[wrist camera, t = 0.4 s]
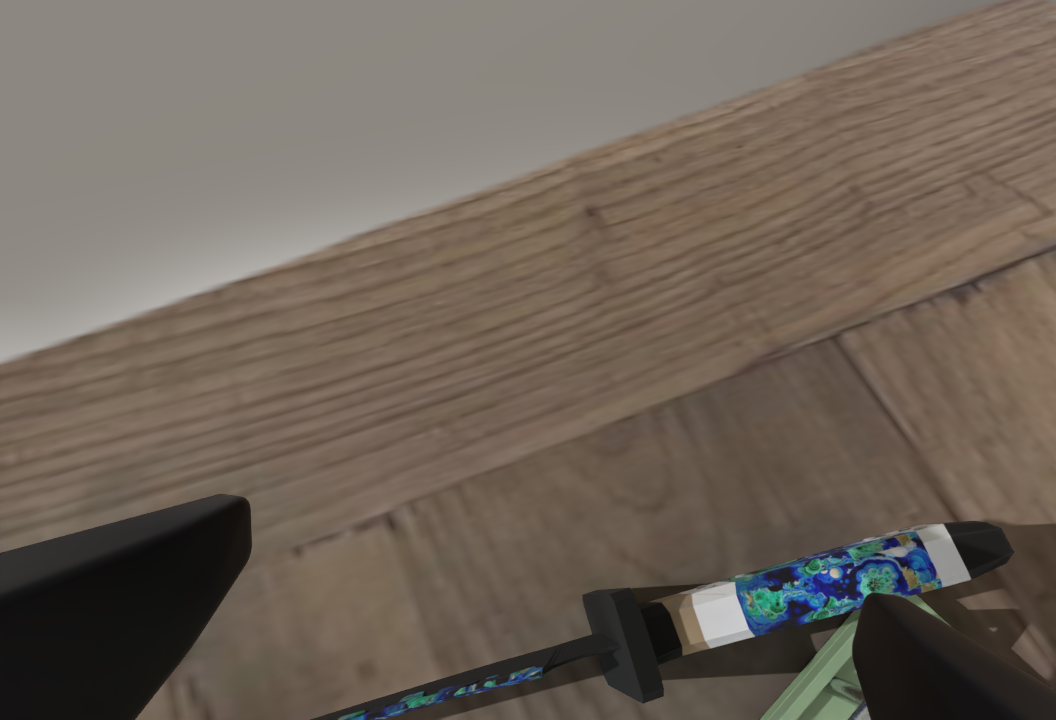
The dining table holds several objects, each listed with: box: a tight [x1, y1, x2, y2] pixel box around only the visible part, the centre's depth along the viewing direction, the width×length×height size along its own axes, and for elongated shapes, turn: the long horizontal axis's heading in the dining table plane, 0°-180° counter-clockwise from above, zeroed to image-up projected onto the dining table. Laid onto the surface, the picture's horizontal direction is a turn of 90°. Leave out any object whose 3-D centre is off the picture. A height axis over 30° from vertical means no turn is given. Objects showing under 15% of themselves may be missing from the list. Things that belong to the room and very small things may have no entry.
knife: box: [311, 521, 1014, 720], centre depth 20 cm, size 31×3×4 cm, turn 102°
